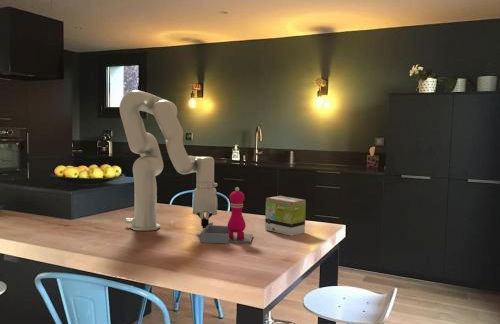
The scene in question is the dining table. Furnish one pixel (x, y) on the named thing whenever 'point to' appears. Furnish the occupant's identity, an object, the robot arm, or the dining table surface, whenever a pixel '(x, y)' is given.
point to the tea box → (285, 215)
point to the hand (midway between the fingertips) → (204, 227)
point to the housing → (214, 234)
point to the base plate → (245, 239)
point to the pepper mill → (236, 214)
